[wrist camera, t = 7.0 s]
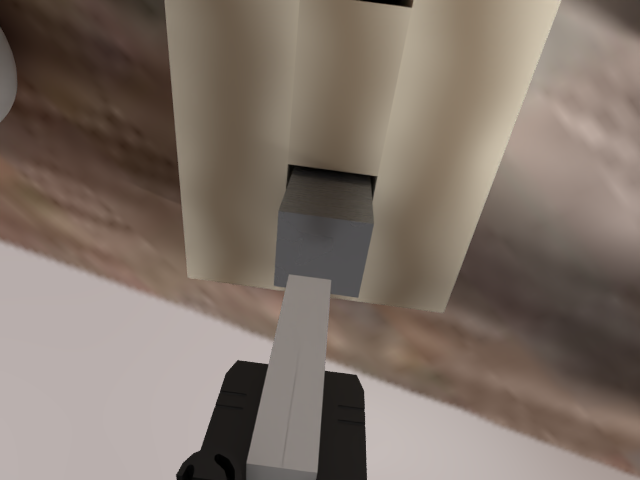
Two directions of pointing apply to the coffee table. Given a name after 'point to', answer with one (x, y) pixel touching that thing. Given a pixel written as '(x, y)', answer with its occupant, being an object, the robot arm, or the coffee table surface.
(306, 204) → the graphite peg
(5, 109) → the teacup
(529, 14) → the press block
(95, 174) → the coffee table surface
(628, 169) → the coffee table surface
